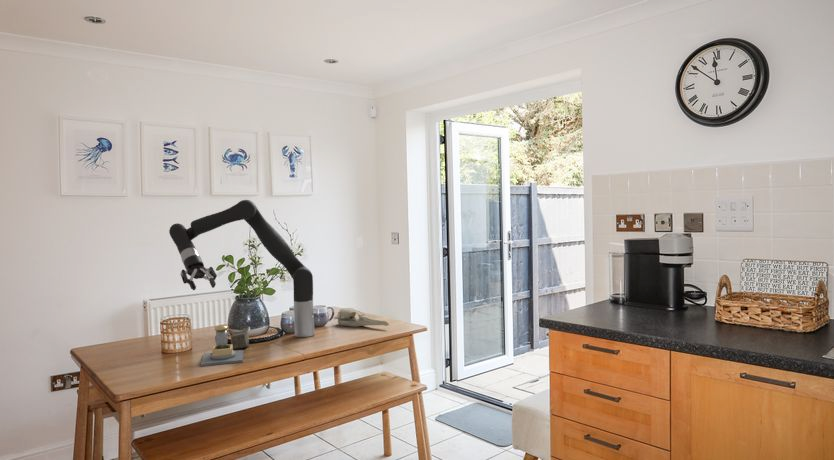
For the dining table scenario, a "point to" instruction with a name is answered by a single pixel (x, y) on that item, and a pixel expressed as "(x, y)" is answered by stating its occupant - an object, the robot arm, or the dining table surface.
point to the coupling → (221, 336)
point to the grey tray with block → (222, 356)
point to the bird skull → (348, 319)
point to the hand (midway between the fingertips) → (204, 287)
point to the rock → (240, 339)
